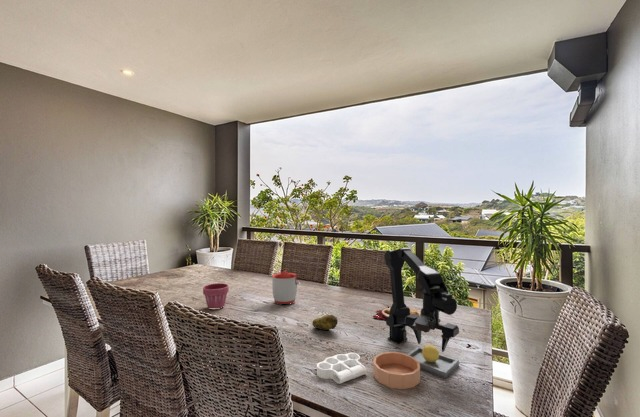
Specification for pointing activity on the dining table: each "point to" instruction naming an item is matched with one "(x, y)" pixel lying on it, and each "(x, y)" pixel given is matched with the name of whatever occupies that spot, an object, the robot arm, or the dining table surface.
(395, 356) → the bowl
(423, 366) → the tray
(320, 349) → the dining table surface
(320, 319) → the potato
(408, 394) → the dining table surface
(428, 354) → the ball
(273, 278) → the citrus juicer
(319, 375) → the white brass knuckles
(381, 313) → the plate with food
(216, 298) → the plant pot
